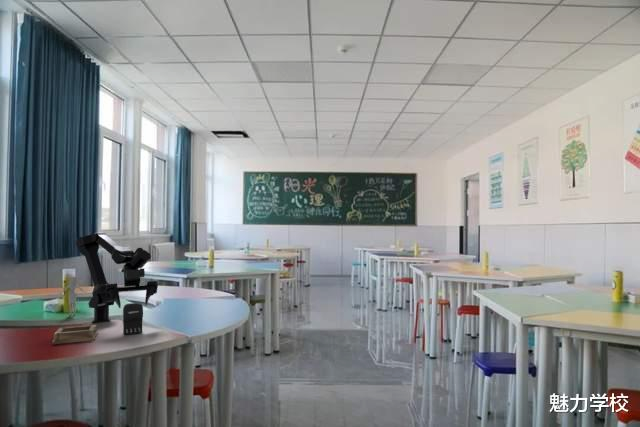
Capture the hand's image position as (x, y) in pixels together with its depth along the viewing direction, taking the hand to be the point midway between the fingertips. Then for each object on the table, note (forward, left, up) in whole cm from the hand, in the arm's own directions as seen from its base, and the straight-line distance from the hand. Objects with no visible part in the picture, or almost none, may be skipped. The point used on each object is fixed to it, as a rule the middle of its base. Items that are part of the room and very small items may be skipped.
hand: (133, 306), depth 156 cm
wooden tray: (+2, -19, -10) cm, 21 cm away
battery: (+3, 0, -10) cm, 11 cm away
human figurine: (-45, -28, -10) cm, 54 cm away
